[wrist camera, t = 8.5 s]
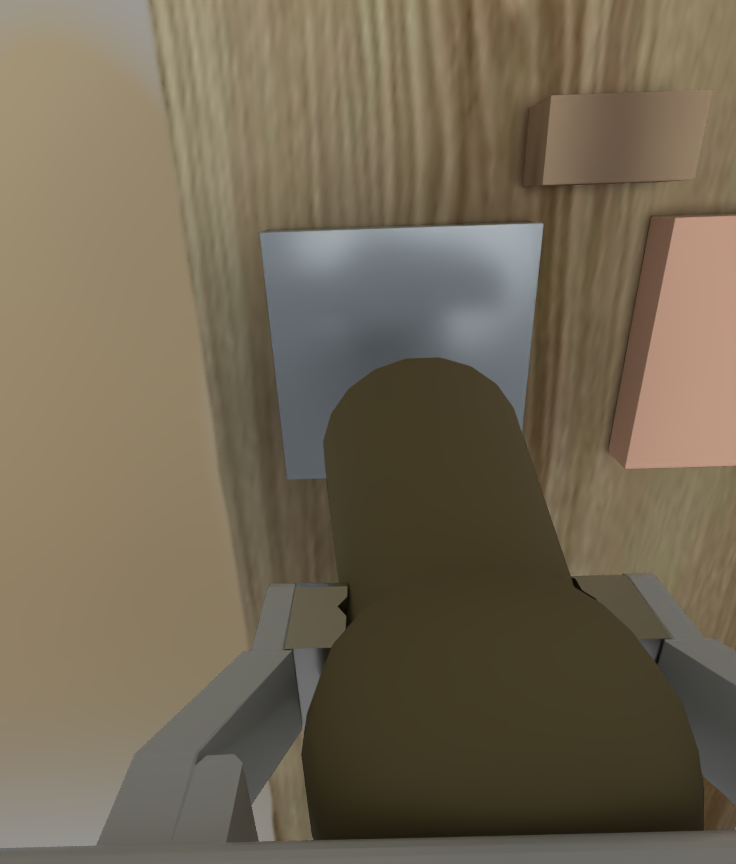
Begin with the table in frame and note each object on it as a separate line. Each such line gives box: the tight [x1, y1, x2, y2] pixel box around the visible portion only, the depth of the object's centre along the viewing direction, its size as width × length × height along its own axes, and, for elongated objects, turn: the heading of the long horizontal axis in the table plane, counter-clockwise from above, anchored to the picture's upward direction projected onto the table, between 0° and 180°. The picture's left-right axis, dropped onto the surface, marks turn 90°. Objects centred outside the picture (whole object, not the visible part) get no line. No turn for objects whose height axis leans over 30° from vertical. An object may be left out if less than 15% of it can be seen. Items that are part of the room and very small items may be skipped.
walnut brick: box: [523, 89, 714, 187], centre depth 21 cm, size 6×3×3 cm, turn 92°
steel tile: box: [260, 221, 544, 480], centre depth 25 cm, size 12×12×2 cm
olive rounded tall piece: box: [301, 357, 704, 840], centre depth 11 cm, size 6×6×11 cm
